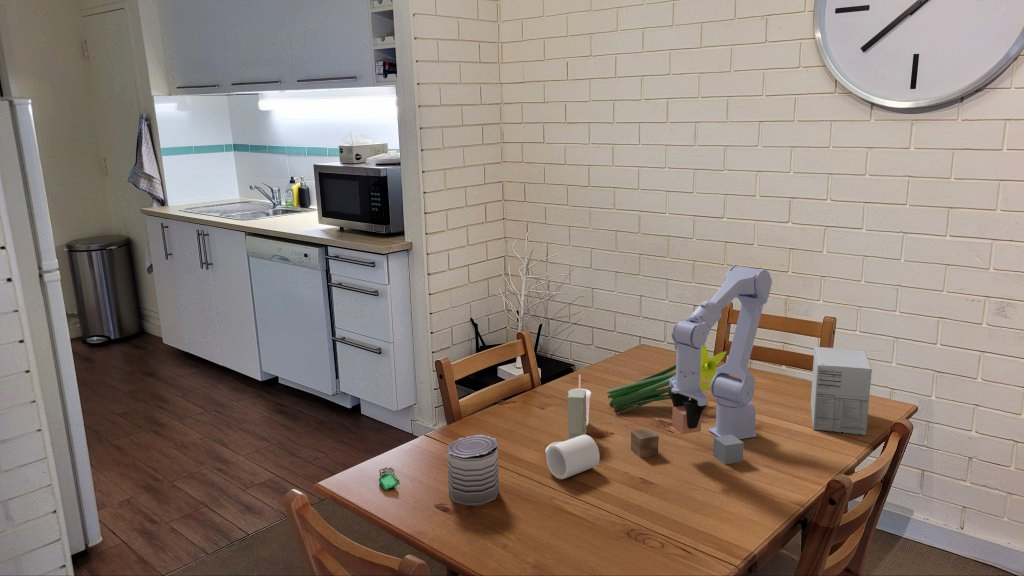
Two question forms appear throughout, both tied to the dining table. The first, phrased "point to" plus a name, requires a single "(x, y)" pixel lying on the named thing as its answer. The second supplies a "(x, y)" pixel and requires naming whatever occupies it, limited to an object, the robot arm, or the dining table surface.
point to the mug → (572, 456)
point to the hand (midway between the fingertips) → (686, 423)
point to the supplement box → (840, 390)
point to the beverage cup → (588, 395)
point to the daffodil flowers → (659, 385)
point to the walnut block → (644, 442)
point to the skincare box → (576, 413)
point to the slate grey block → (728, 449)
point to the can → (473, 470)
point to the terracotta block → (683, 421)
